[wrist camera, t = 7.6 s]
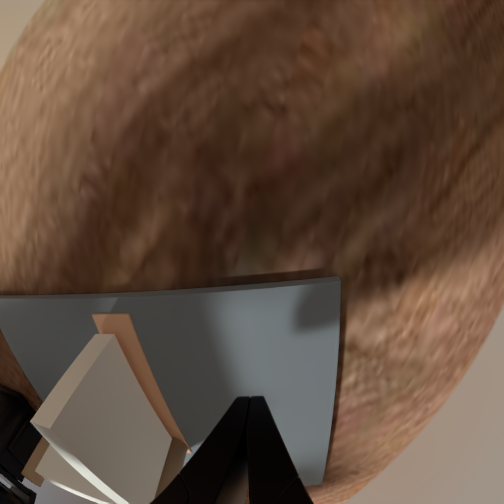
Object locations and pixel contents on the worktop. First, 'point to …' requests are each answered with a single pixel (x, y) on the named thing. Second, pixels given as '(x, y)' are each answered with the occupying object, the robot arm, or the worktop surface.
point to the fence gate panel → (106, 424)
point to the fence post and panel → (67, 477)
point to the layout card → (201, 353)
